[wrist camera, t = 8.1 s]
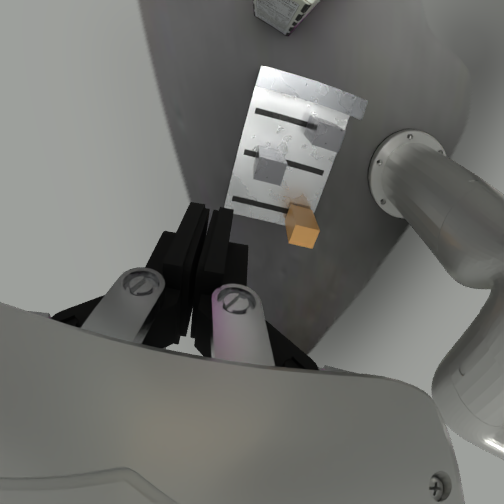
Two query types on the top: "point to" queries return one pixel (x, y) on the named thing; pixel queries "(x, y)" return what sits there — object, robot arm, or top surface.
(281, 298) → the top surface
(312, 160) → the console
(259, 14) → the candy bar box
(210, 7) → the top surface
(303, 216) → the cap
